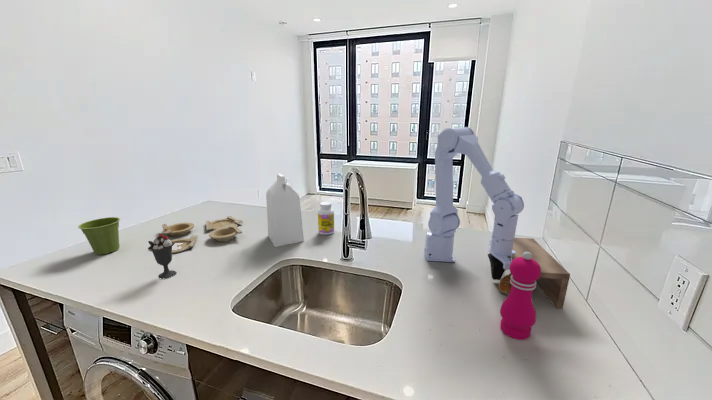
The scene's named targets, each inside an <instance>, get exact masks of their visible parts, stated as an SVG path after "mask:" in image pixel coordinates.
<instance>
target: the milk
mask: <svg viewBox="0 0 712 400" xmlns="http://www.w3.org/2000/svg"><path fill="white" fill-rule="evenodd" d="M265 198H266V199H265V200H266V218H267V236H268V238H269V239H270V241H271V244H273V247H280V246H285V245H290V244H291V245H292V244H296V243H300V242H304V241H305V236H304V227H303V217H302V207H301V198H300V195H299V193H298V192H296V190H294V186H293V185H292V184H291V183H290V182H286V177H285V175H284V174H282V173H276V181H275V182H274V183H273V184H272V185H271V186H270V187H269V188H268V189H267V191H266V196H265Z"/></svg>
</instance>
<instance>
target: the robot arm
mask: <svg viewBox="0 0 712 400" xmlns="http://www.w3.org/2000/svg"><path fill="white" fill-rule="evenodd" d="M458 154H462V155H465V156H466V157H467V159H469V161H470V162H471V164H472V165H473V166H474V168H475V169H476V171H477V172H478V174H480V176H481V180H480V184H481V185H482V188H483V189H484V191H485V193H486V194H487V195H488V197H489V198H490V200H491V202H492V203H493V204H492V205H491V208H492V209H491V210H492V212H493V215H494V221H493V227H492V234H491V239H490V240H489V244H488V245H489V246H488V247H489V248H488V252H489V253H487V257H488V260H489V263H490V270H491V271H490V273H491V279H492V280H496V281H500V280H501V279H502V278H503V276H504V273H505V271H506V270H510V264H511V262H512V254H516V252H515V251H514V250H512V248H513V243H514V238H516V236H515V235H516V230H517V226H518V221H519V220H518V219H519V214H520V213H521V212H522V211H523V210H524V208H525V203H524V199H523V197H522V196H521V195H519V194H517V193H515V191H514V190H512V189H511V187H510V186H509V185H508V183H507V182H506V180H505V179H506V176H505V175H504V174H501V172H499V171H496V170H494V169H493V168H492V166H491V164H490V162H489V161H488V158H487V156H486V155H485V153H484V151H483V150H482V147H481V145H480V144H479V138H478V136H477V135H476V134H475V132H474V130H473V129H472V128H471V127H469V126H464V127H455V128H454V127H453V128H452V127H447V128H444V129H443V130H442V131H441V132H440V133H439V134H438V135H437V145H436V149H435V150H434V171H435V173H434V174H435V178H434V179H435V206H434V208H432V210H431V211H430V214H429V215H430V217H429V220H428V222H427V223H428V224H427V225H428V229H429V231H427V232H426V233H425V239H424V241H425V242H424V243H425V244H424V254H425V260H426V261H427V262H429V261H430V262H443V263H446V262H447V263H456V258H455V257H454V256H455V255H454V242H455V233H456V229H458V228H459V227H460V225H461V219H460V217H459V213H458V212H459V211H458V208H457V207H455V206H454V181H453V180H454V179H453V178H454V175H453V174H454V173H453V172H454V171H453V170H454V167H453V166H454V165H453V162H454V161H453V158H454V157H456V155H458ZM508 256H511V258H508ZM510 259H511V261H510Z"/></svg>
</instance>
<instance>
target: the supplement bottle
mask: <svg viewBox="0 0 712 400" xmlns="http://www.w3.org/2000/svg"><path fill="white" fill-rule="evenodd" d="M319 207H320V208H319V209H318V210H317V226H318V228H317V229H318V233H319V234H320V235H324V236H328V235H332V234H333V233H334V232H335V210H334V208H332V202H330V201H323V202H322V201H321V202H320V203H319Z"/></svg>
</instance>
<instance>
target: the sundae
mask: <svg viewBox="0 0 712 400" xmlns="http://www.w3.org/2000/svg"><path fill="white" fill-rule="evenodd" d="M165 230H167V229H165ZM165 230H164V231H165ZM165 232H166V231H165ZM163 233H164V232H163ZM163 233H161V234H159V235H158V236H156V237H155V239H154V240H153V241H152V240H148V241H147V243H148V244H149V246H148V247H147V249H148V250H150V251H151V253H152V254H153V257H154V259H155V261H156V263H157V264H158V265H160V266H162V267H163V272H161V273H159V274H158V275H157V277H159V278H158V279H160V278H161V279H160V280H164V279H163V278H166V279H170V278H172V277H174V276H175V275H177V271H176V270H174V269H171V270H170V269H169V264H170V263H171V262H172V260H173V254H172V246H173V245H174V242H172V241H171V239H169V236H167V235H166V234H163ZM173 275H174V276H173ZM171 276H172V277H171ZM169 277H170V278H169Z"/></svg>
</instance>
